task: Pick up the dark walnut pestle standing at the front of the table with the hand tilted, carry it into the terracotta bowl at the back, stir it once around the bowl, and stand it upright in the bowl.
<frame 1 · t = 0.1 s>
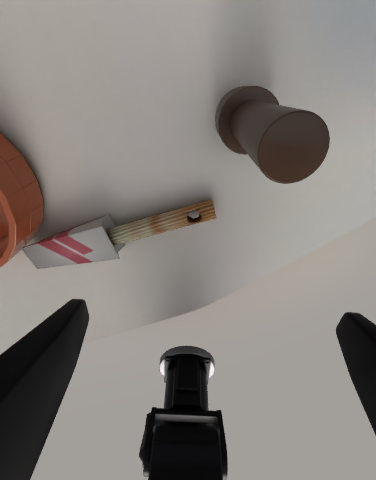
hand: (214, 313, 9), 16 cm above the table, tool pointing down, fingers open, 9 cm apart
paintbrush: (120, 228, 26), on the table
pestle: (242, 118, 20), on the table
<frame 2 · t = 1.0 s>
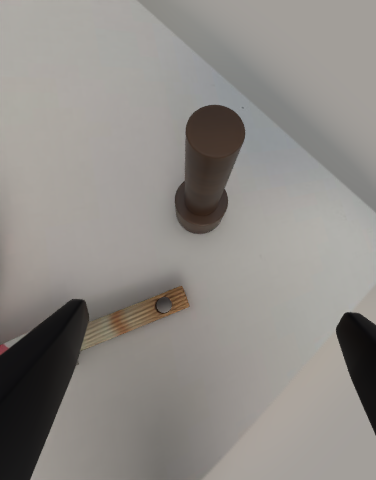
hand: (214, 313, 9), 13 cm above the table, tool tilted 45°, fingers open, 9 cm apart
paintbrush: (76, 339, 21), on the table
pestle: (199, 211, 23), on the table
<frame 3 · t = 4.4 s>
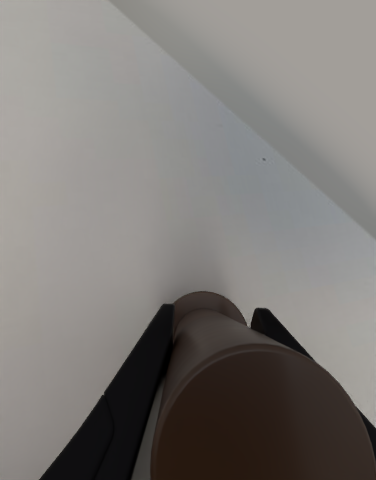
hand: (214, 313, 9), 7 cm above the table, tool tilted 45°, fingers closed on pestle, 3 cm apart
pestle: (199, 329, 15), on the table, touching gripper
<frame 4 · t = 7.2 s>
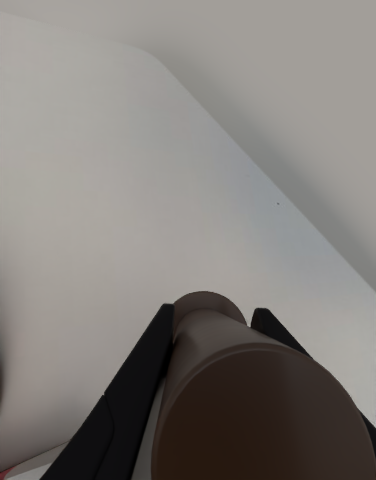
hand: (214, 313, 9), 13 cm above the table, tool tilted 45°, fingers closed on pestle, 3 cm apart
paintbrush: (82, 462, 19), on the table
pestle: (200, 329, 15), point 7 cm above the table, touching gripper
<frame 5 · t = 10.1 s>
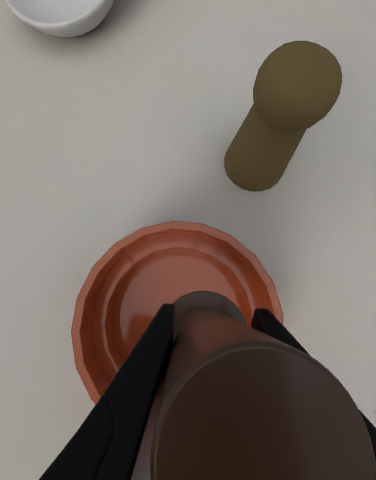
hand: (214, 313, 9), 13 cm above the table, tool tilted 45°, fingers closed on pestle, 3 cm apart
olive game pawn: (253, 164, 25), on the table
pestle: (199, 328, 15), point 7 cm above the table, touching gripper
bowl: (179, 316, 21), on the table
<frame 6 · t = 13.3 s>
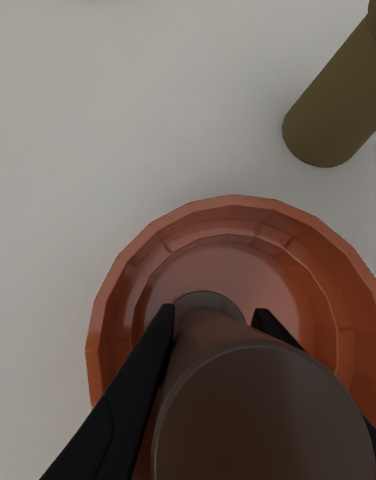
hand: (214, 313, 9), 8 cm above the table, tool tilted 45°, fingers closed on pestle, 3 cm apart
olive game pawn: (319, 133, 19), on the table
pestle: (199, 328, 15), point 1 cm above the table, touching gripper
bowl: (225, 327, 16), on the table
when the fingers open (7 cm above the table, at t = 15.8 s): pestle stays where it is, resting on bowl.
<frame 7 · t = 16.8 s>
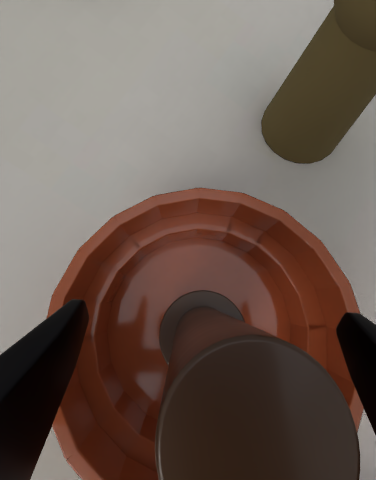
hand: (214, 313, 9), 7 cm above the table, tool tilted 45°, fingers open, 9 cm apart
olive game pawn: (298, 129, 19), on the table
pestle: (199, 327, 15), point 1 cm above the table, touching bowl
bowl: (199, 325, 16), on the table
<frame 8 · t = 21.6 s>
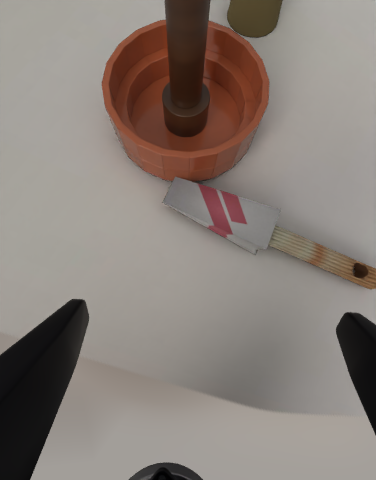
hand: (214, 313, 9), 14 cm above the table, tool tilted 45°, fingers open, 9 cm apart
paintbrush: (264, 238, 23), on the table
olive game pawn: (252, 19, 29), on the table
pestle: (185, 118, 25), point 1 cm above the table, touching bowl
bowl: (185, 122, 26), on the table
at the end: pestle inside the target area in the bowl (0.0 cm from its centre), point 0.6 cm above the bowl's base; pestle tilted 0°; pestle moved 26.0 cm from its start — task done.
